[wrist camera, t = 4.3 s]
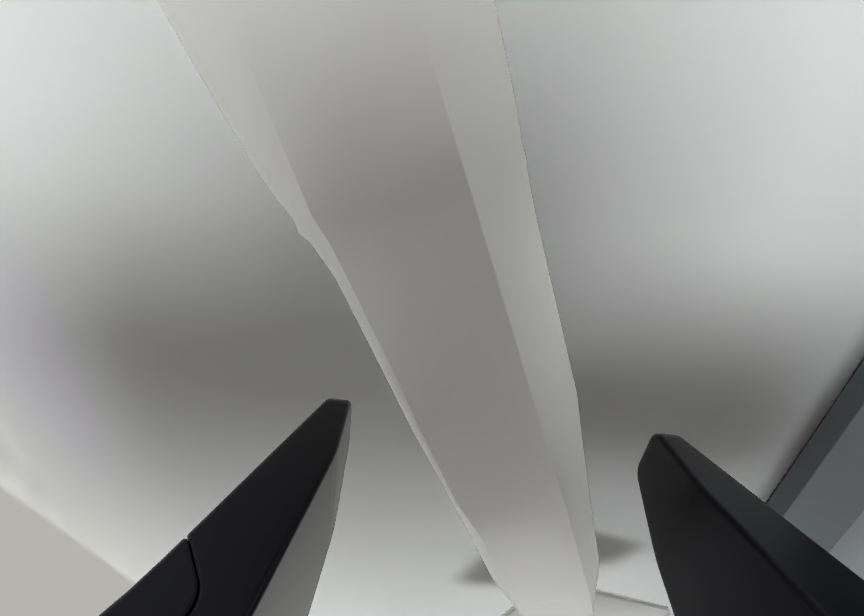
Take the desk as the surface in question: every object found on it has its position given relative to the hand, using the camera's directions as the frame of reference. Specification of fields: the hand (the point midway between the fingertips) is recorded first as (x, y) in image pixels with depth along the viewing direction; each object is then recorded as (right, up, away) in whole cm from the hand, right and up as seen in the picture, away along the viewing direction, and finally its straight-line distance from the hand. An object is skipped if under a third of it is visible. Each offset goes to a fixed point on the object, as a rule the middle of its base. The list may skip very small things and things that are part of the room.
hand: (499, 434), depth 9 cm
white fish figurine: (0, +2, +3) cm, 3 cm away
